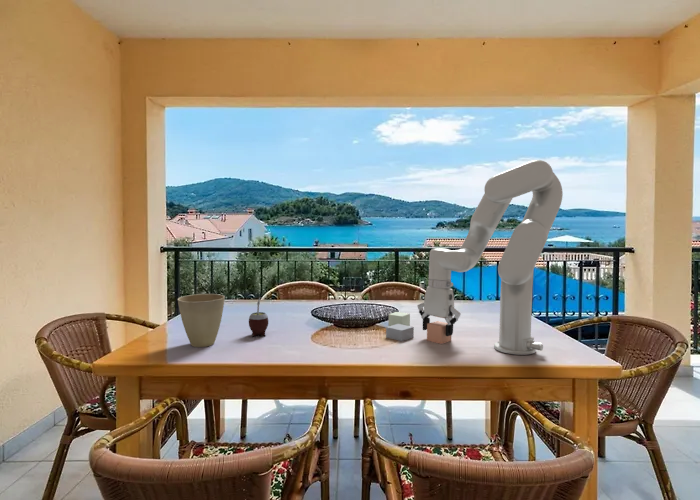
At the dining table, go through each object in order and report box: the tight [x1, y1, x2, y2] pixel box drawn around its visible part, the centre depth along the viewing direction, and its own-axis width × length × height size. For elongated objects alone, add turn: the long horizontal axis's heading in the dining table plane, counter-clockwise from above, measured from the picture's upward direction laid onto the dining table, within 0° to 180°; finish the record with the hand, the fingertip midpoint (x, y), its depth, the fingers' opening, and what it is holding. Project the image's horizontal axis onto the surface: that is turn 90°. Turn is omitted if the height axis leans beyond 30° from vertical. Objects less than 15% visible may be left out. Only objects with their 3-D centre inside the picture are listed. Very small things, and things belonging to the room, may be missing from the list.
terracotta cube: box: [426, 320, 452, 345], centre depth 150 cm, size 6×6×6 cm
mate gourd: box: [248, 296, 269, 338], centre depth 155 cm, size 8×8×15 cm
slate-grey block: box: [385, 324, 415, 342], centre depth 154 cm, size 7×7×4 cm
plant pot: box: [177, 293, 225, 348], centre depth 144 cm, size 15×15×16 cm
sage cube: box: [387, 311, 411, 327], centre depth 166 cm, size 6×6×6 cm
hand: (437, 332), depth 150 cm, fingers open, 9 cm apart
